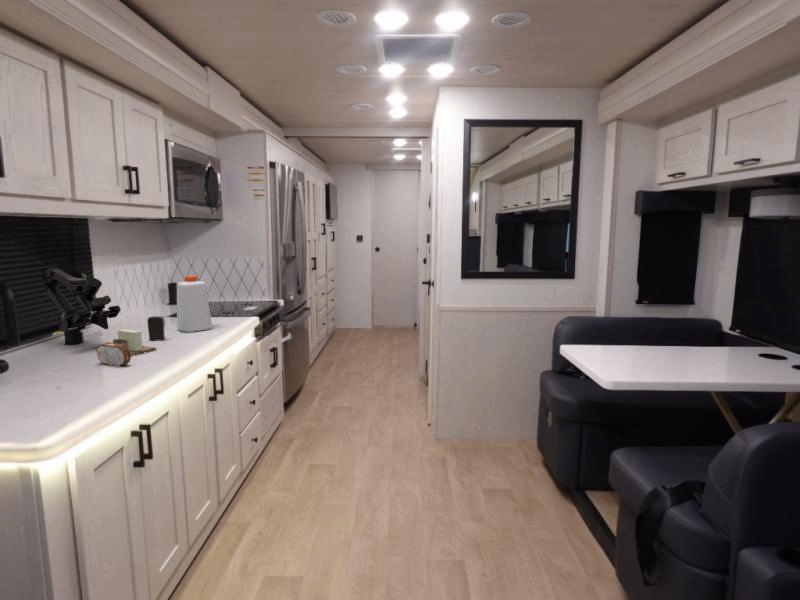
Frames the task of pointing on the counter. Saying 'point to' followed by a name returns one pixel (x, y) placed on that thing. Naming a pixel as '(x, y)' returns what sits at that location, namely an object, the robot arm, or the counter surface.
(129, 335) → the bar
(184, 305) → the plastic bottle
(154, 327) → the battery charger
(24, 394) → the counter surface
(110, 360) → the tin
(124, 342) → the wooden channel stand
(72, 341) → the robot arm
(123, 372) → the counter surface
